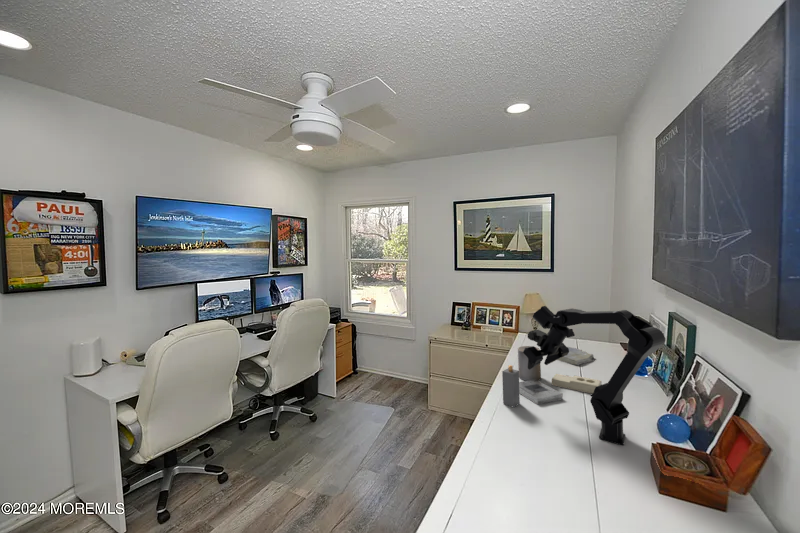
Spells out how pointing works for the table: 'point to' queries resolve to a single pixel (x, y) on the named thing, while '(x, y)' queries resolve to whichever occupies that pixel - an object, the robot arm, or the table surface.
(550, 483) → the table surface
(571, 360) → the fossil
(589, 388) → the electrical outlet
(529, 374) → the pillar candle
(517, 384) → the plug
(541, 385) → the socket plate
